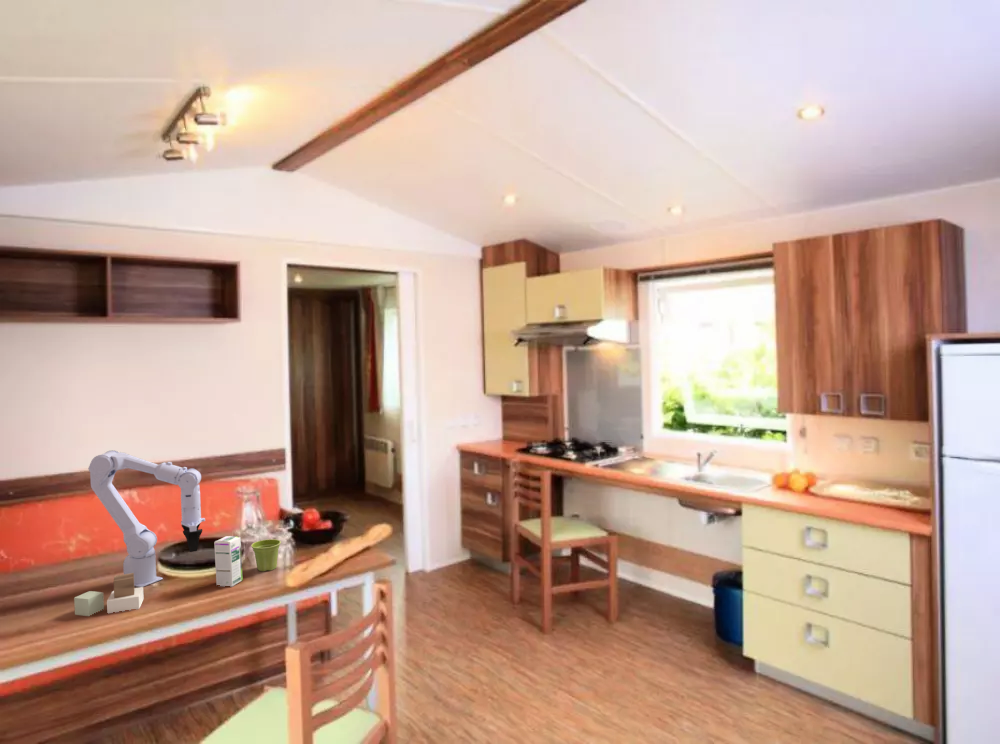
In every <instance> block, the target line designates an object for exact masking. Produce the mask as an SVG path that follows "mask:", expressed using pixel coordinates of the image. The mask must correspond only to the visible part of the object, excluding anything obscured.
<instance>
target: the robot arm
mask: <svg viewBox="0 0 1000 744" xmlns="http://www.w3.org/2000/svg"><path fill="white" fill-rule="evenodd" d="M124 469H131V470H135V471H138V472H139V471H140V472H144V473H147V474H151V475H154V477H155V479H156V480H159V481H161V482H166V483H168V484H172V485H176V486H178V487H179V488H180V507H181V509H180V510H181V522H180V523H181V525H180V526H181V528H182V529H183V530H182V533H183V535H184V537H185V539H186V543H187V545H188V546H187V547H188V550H189V552H190V553H192V552H193V553H194V552H198V549H199V548H198V547H199V541H200V537H201V536H202V533H203V528H200V525H201V523H203V522H206V518H205V517H202V510H201V509H202V507H201V490H200V489H201V487H200V483H201V480H202V474H201V472H200V471H199V470H197V469H195V468H193V467H192V468H188V467H186V466H183V467H181V466H179V465H174V464H173V462H172V461H167V462H165V461H164V462H162V463H159V464H157V463H155V462H152V461H149V460H146V459H143V458H140V457H137V456H135V455H131V454H129V453H127V452H121V451H117V450H108V451H106V452H104V453H102V454H98V455H95V456H94V457H93V458H92V459H91V462H90V464H89V465H88V468H87V470H88V471H89V473H90V474H89V475H90V476H89V477H90V487H91V489H92V492H94V494H95V495H96V496H97V498H98V500H99V501H100V502H101V504H102V505H103V507H104V508H105V509H106V511H107V512H108V514H109V515H110V516H111V518H112V519H113V521H114V522H115V524H116V525H117V526H118V527H119V529H120V530H121V532H122V534H123V542H124V544H125V545H126V552H127V555H126V556H125V558H124V560H123V564H122V565H123V574H129V573H134V587H135V588H139V587H143V588H144V587H146V586H149V585H150V584H153V583H157V582H159V581H162V580H163V577H161V576H157V563H156V562H157V558H156V550H155V548H154V547H155V546H156V544H157V542H158V537H157V535H156V534H155V532H154V531H153V530H150V529H148V527H147V526H146V525H144V524H143V523H141V522H139V520H138V518H137V517H136V516H135V515H134V512H133V511H132V510H131V508H130V507H129V506H128V504H127V503H126V501H125V500H124V499H123V497H122V496H121V494H120V493H119V491H118V490H117V488H116V487H115V486H114V484H113V480H114V478H115V475H116V473H117V471H121V470H124Z"/></svg>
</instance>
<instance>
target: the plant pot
mask: <svg viewBox="0 0 1000 744" xmlns="http://www.w3.org/2000/svg"><path fill="white" fill-rule="evenodd" d="M281 544H282V541H281V540H280V539H274V538H272V539H271V538H270V539H269V538H268V539H262V540H258V541H255V542H253V543H252V544H251V545H250V546H251V548H252V550H253V552H254V553H253V554H254V558H255V562H256V568H257V570H258V571H259V572H266V571H273V570H275V569H277V566H278V556H279V548H280V545H281Z"/></svg>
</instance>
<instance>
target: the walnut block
mask: <svg viewBox="0 0 1000 744" xmlns="http://www.w3.org/2000/svg"><path fill="white" fill-rule="evenodd" d="M134 588H135V586H134V573H129V574H124V573H123V574H119V575H118V574H117V575H114V576H113V591H114V598H119V597H125V596H130V595H134Z"/></svg>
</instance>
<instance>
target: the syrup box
mask: <svg viewBox="0 0 1000 744" xmlns="http://www.w3.org/2000/svg"><path fill="white" fill-rule="evenodd" d="M242 560H243V558H242V540H241V536H237V535H228V536H227V535H226V536H224V537H222V538H220V539H218V540H215V541H214V563H215V564H214V565H215V579H216V580H215V581H216V582H215V583H216V586H217V585H220V586H219V587H225V586H230V588H233V587H234V586H235V585H237V584H238V583H240V582H243V580H244V579H243V576H244V575H243V561H242Z"/></svg>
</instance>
